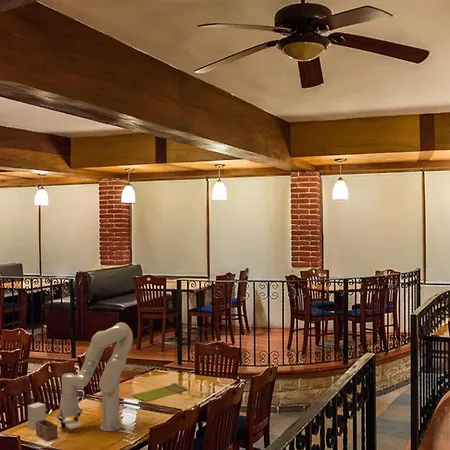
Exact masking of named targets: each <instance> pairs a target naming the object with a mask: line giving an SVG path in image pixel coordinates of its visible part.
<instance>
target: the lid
mask: <svg viewBox="0 0 450 450" xmlns="http://www.w3.org/2000/svg"><path fill="white" fill-rule="evenodd" d="M64 422H65V428H67V429H69V430H73V429H76V428H78V427H82V422H79V421H78V422H77V421H75V420H74V418H71V417H66V418H65V421H64ZM57 423H58V424H60V425H61V421H59V420H58V419H57Z"/></svg>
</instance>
